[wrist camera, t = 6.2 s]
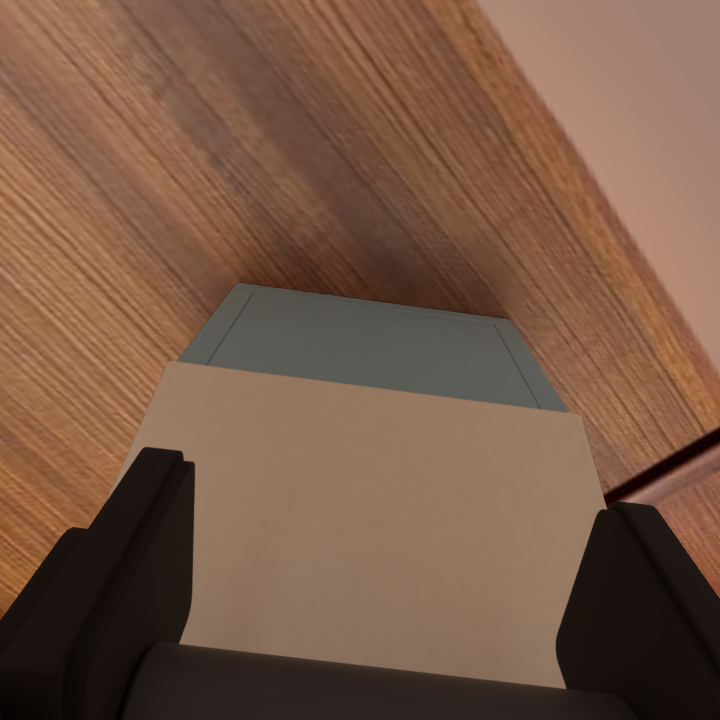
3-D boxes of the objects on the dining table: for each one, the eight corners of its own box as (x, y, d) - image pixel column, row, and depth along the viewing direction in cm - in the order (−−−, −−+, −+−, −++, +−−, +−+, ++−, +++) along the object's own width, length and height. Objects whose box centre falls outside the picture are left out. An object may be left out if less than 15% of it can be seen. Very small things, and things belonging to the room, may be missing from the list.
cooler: (457, 539, 31) (487, 696, 23) (223, 510, 31) (168, 659, 22) (510, 319, 26) (572, 414, 18) (236, 281, 26) (173, 363, 18)
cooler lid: (743, 1101, 9) (1094, 1151, 5) (-104, 1022, 8) (-376, 1012, 5) (571, 431, 18) (652, 281, 14) (170, 379, 18) (150, 211, 14)
